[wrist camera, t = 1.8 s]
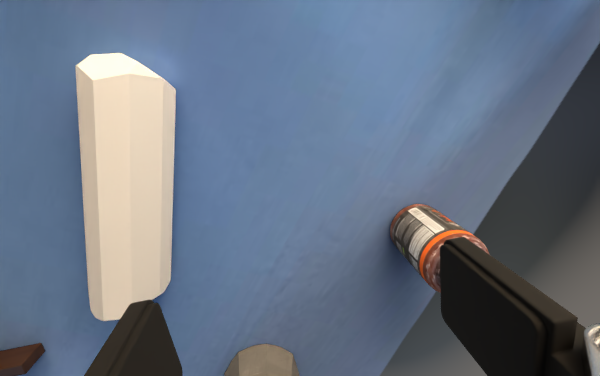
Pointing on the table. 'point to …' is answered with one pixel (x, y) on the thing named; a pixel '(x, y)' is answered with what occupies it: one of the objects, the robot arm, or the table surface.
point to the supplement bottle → (426, 239)
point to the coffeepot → (263, 362)
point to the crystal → (125, 180)
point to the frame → (19, 359)
